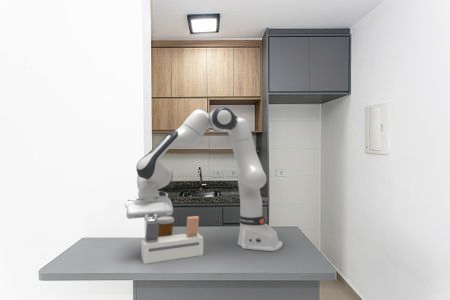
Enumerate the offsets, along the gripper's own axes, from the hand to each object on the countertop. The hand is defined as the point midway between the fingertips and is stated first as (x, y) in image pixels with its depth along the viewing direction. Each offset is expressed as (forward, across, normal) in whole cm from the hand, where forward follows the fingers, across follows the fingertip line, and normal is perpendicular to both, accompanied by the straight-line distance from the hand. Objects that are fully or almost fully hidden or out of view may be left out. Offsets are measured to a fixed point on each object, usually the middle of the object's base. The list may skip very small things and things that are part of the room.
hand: (151, 224), depth 129 cm
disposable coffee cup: (-6, +10, +28) cm, 31 cm away
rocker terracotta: (+4, +18, +5) cm, 19 cm away
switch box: (+10, +9, +12) cm, 18 cm away
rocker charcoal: (+4, 0, +5) cm, 7 cm away
